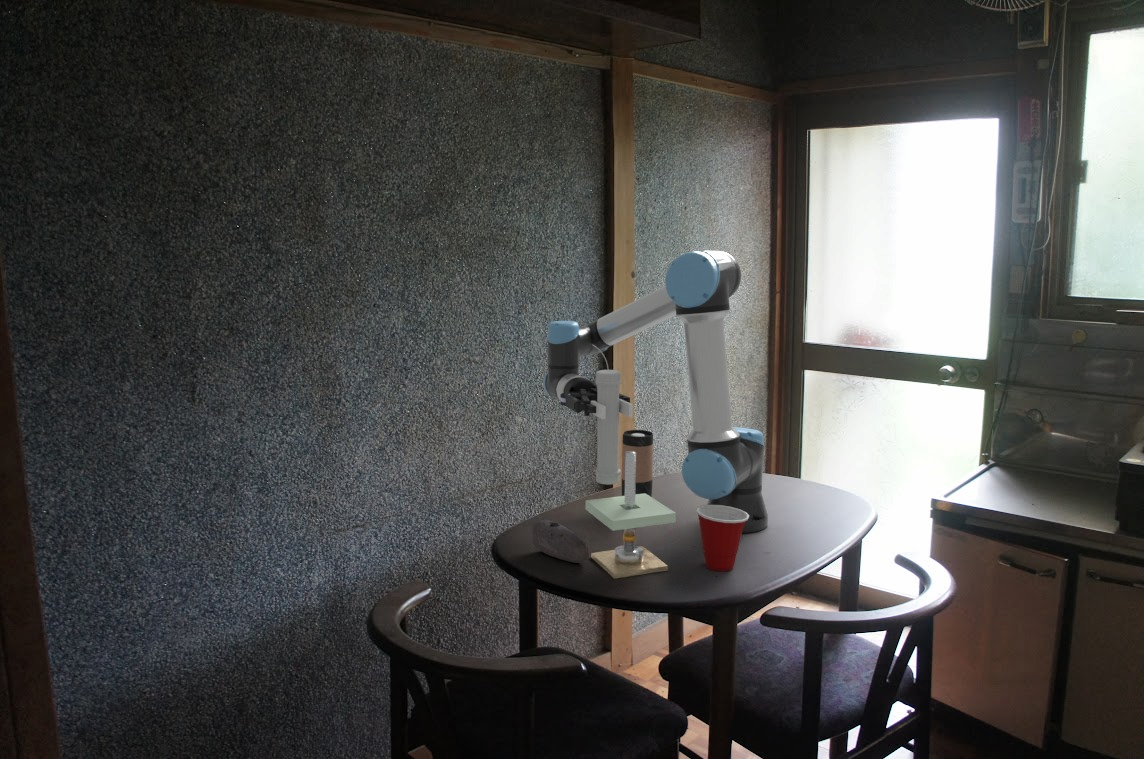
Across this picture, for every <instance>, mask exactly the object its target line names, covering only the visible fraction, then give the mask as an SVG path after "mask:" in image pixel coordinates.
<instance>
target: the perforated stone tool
mask: <svg viewBox="0 0 1144 759" xmlns="http://www.w3.org/2000/svg"><path fill="white" fill-rule="evenodd" d="M531 539H532V540H531V541H532V544H533V546H534V547H535V548H536V549H538V550H539V551H540V552H543V554H545V555H547V556H550V557H553V558H555V559H556V558H557V559H558V560H562V561H566V562H569V563H575V564H583V563H585V562H586V561H587V560H588V558H589V554H590V552H589V548H588V546H587V543H586V541H585V540H584V539H583V538H582V537H581V536H580V535H579V534H577V533H576V532H574V531H573V530H571V529H570V528H568V527H566V526H564V525H562V524H560V523H557V522H554V521H552V520H549V519H539V520H538V521H536V522H535V523H534V524H533V526H532V534H531Z"/></svg>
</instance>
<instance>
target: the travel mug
mask: <svg viewBox="0 0 1144 759" xmlns="http://www.w3.org/2000/svg"><path fill="white" fill-rule="evenodd" d="M621 442H622V443H621V444H622V446H621V449H622V450H621V452H622V453H621V496H625V452H627V451H634V452H636V487H635V494H644V493H646V494H647V495H649V496H650V497H652V495H653V483H654V482H653V479H654V478H653V477H654V475H653V474H654V470H653V469H654V433H653V432H652V431H649V430H645V429H644V430H643V429H629V430H625V431H624V432H623V434H622V441H621ZM652 498H653V497H652Z"/></svg>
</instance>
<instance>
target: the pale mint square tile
mask: <svg viewBox="0 0 1144 759" xmlns="http://www.w3.org/2000/svg"><path fill="white" fill-rule="evenodd" d="M624 505H625V496H622V495H619V496H612V497H603V498H595V499H587V500H585V510H586V511H587V512H588V513H589V514H591V515H592V516H593V517H594V518H596V519H597V520H598V521H600V522H601V523H602V524H603V525H605V526H606V527H607V528H609V530H611V531H613V532H614V531H620V530H624V529H630V528H643V527H645V528H646V527H650V526H651V527H652V526H658V525H666V524H673V523H677V522H676V521H677V512H675V511H674V510H672V509H671V508H670V507H668V506H666V505H664V504H663V503H661V502H659V501H658V500H657V499H655V498H654V497H650V496H649V495H647V494H646V493H644V494H635V509H629V510H625V509H624Z"/></svg>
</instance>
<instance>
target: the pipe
mask: <svg viewBox="0 0 1144 759" xmlns="http://www.w3.org/2000/svg"><path fill="white" fill-rule="evenodd" d="M592 345H593V344H592ZM593 346H594V345H593ZM594 347H596V346H594ZM596 348H597V347H596ZM597 349H598V348H597ZM598 350H599V349H598ZM599 351H600V350H599ZM600 353H601V355H602V356H603V358H604V360H605V363H606V368H607V369H601V370H597V371H596V372H595V383H594V384H595V385H596V387H597V402H598V403H600V404H602V405H604V406H606V419H601V418H599V417H597V416H596V417H597V418H596V420H597V421H596V424H597V426H596V427H597V434H596V435H597V437H596V438H597V441H596V443H597V445H596V446H597V447H596V449H597V455H596V456H597V457H596V458H597V459H596V460H597V461H596V465H597V466H596V468H595V481H596V482H597V483H598V484H601V485H608V486H609V485H615V484H619V483H620V481H621V474H622V469H621V468H619V467H620V462H619V461H620V456H619V455H620V412H619V393H620V385H621V384H622V380H621V371H619V370H616V369H609V364H608V360H607V358H606V357H605V354H604V353H603V352H601V351H600Z"/></svg>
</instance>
